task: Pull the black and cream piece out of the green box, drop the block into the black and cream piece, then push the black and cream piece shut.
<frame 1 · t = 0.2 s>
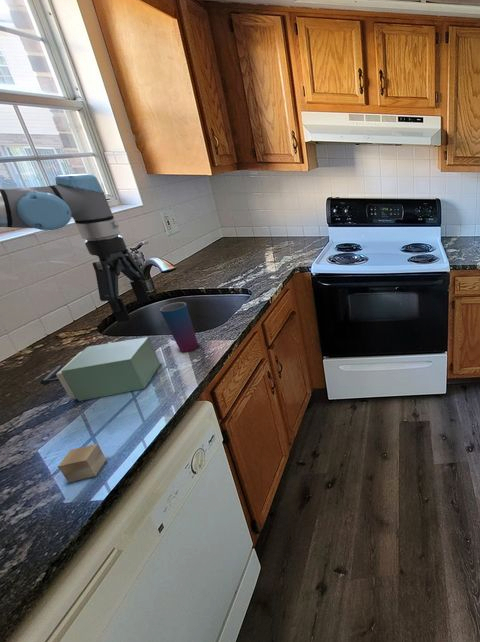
hand: (135, 310, 103), 18 cm above the counter, tool pointing down, fingers open, 13 cm apart
cup: (189, 348, 119), on the counter
black and cream piece: (93, 371, 100), point 5 cm above the counter, slide at 0.5 cm
block: (88, 470, 75), on the counter
green box: (122, 381, 103), on the counter
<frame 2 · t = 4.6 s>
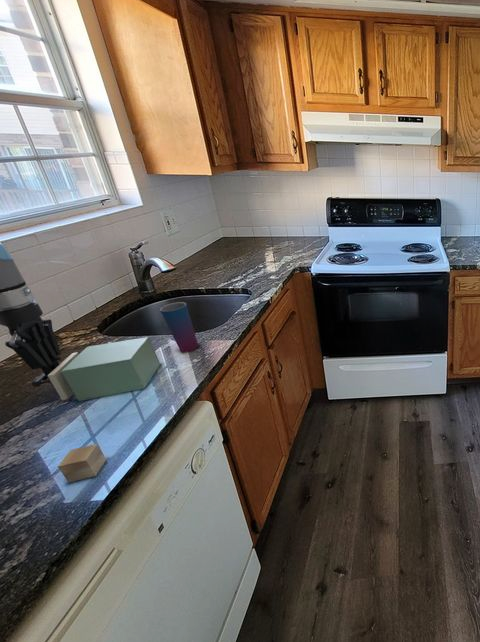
hand: (61, 383, 98), 3 cm above the counter, tool pointing down, fingers closed
black and cream piece: (86, 372, 99), point 5 cm above the counter, slide at 2.2 cm
everything else where it was.
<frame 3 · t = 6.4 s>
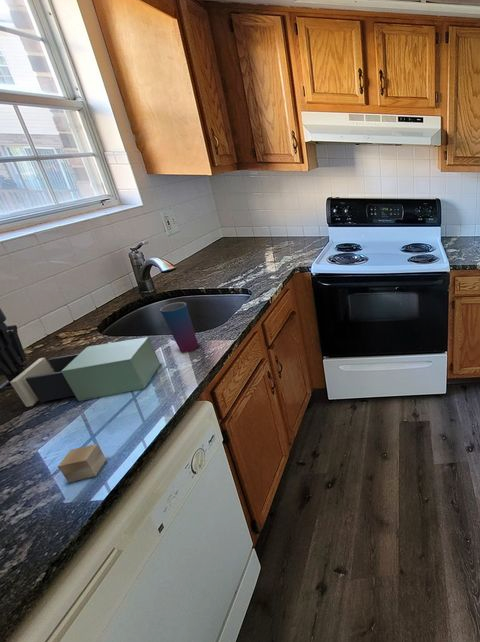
hand: (26, 391, 96), 2 cm above the counter, tool pointing down, fingers closed
black and cream piece: (52, 378, 97), point 5 cm above the counter, slide at 9.5 cm
everything else where it was.
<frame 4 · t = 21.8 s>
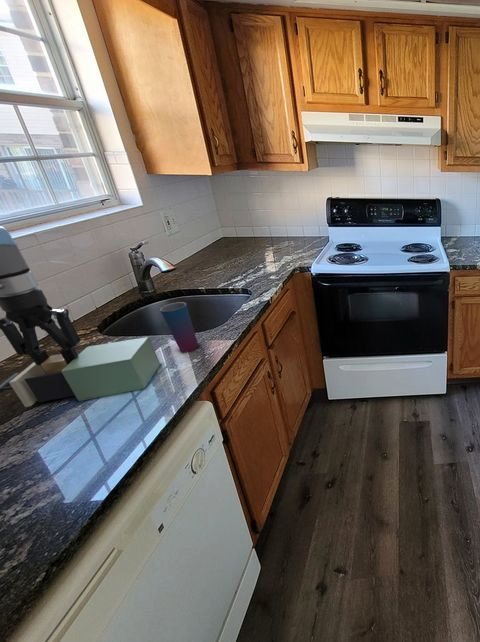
hand: (64, 371, 97), 6 cm above the counter, tool pointing down, fingers closed on block, 4 cm apart
block: (64, 372, 97), point 6 cm above the counter, touching gripper
everything else where it was.
when the fingers open (10 cm above the counter, at t = 30.7 s): block drops 7 cm, resting on black and cream piece.
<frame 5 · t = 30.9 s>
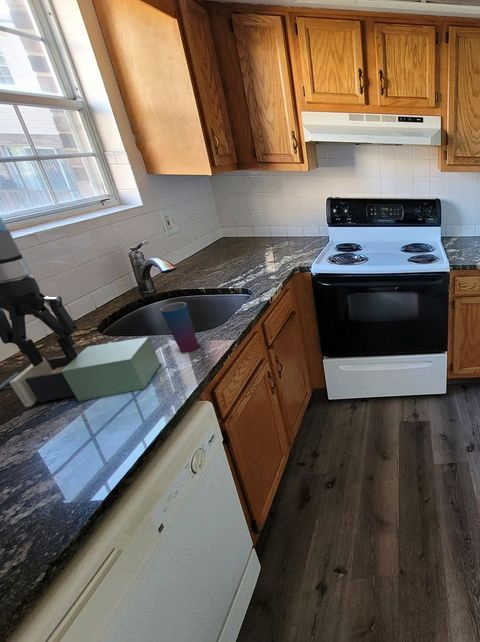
hand: (56, 360, 96), 10 cm above the counter, tool pointing down, fingers open, 6 cm apart
black and cream piece: (51, 378, 97), point 5 cm above the counter, slide at 9.7 cm, touching block
block: (71, 383, 99), point 2 cm above the counter, tilted 6°, touching black and cream piece
everything else where it was.
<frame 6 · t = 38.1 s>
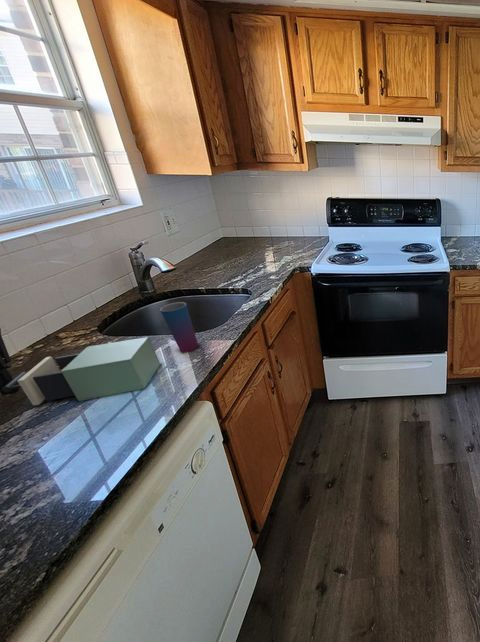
hand: (11, 392, 95), 3 cm above the counter, tool pointing down, fingers closed
black and cream piece: (59, 377, 97), point 5 cm above the counter, slide at 8.1 cm, touching block, gripper
block: (78, 382, 100), point 2 cm above the counter, touching black and cream piece
everything else where it was.
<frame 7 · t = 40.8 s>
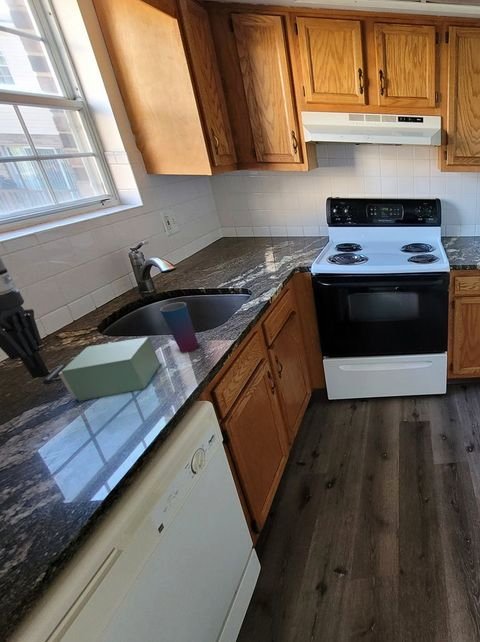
hand: (41, 375, 96), 6 cm above the counter, tool pointing down, fingers closed
black and cream piece: (96, 370, 100), point 5 cm above the counter, slide at 0.0 cm, touching green box, block
block: (114, 376, 102), point 2 cm above the counter, touching black and cream piece
everything else where it was.
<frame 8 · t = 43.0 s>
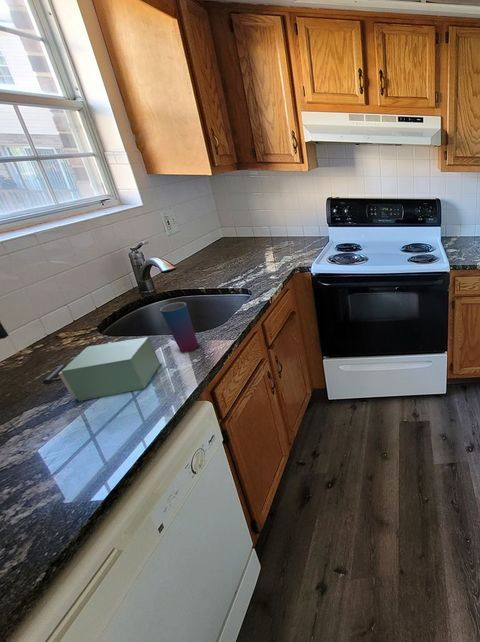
nothing on the counter moved.
at the end: black and cream piece pulled out 9.7 cm at the most during the clip, back to where it started at the end; block inside the target area in the green box (1.2 cm from its centre), point 2.0 cm above the green box's base; black and cream piece slide at 0.0 cm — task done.
